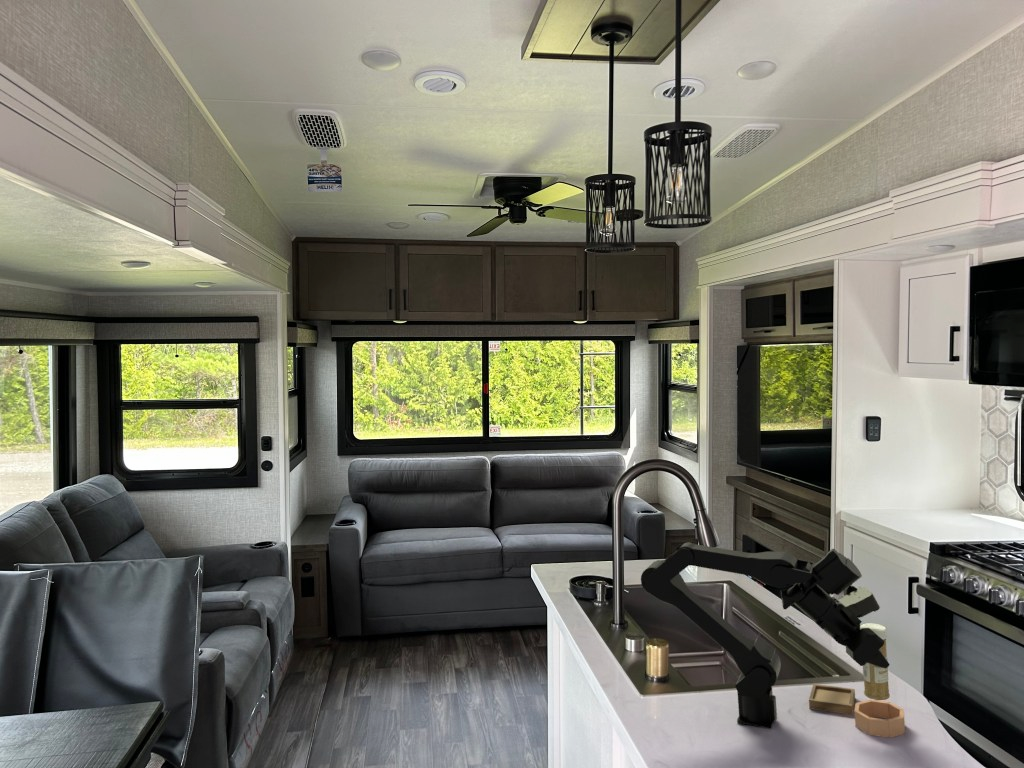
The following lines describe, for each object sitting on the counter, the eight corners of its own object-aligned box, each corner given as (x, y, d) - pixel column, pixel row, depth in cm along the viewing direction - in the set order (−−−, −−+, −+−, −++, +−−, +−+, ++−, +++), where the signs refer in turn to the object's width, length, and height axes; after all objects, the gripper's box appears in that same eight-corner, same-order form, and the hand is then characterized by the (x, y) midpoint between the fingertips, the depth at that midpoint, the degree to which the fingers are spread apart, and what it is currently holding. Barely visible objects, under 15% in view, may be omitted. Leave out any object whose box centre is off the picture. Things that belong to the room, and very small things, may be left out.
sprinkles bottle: (889, 702, 140) (885, 632, 140) (862, 698, 142) (858, 629, 142) (890, 692, 144) (886, 623, 144) (864, 689, 146) (860, 621, 146)
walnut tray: (809, 708, 152) (808, 699, 152) (813, 692, 159) (813, 683, 159) (852, 714, 148) (852, 705, 148) (855, 697, 155) (854, 689, 155)
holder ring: (854, 732, 141) (853, 716, 141) (857, 712, 149) (856, 697, 149) (904, 739, 137) (903, 723, 137) (904, 719, 145) (903, 704, 145)
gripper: (869, 591, 133) (936, 649, 133) (831, 563, 152) (889, 614, 152) (827, 636, 134) (893, 694, 134) (793, 603, 153) (851, 654, 152)
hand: (882, 661), depth 143 cm, fingers closed on sprinkles bottle, 4 cm apart
